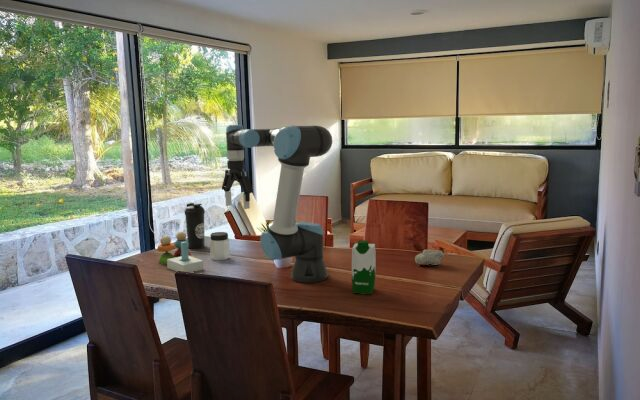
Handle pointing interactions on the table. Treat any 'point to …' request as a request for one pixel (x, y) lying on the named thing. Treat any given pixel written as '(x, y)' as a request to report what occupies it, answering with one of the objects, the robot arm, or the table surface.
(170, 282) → the table surface
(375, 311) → the table surface
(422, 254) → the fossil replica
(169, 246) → the colourful stacking toy
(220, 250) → the jar
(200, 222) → the water bottle
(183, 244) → the peg
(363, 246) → the milk carton
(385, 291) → the table surface
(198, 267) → the socket block
